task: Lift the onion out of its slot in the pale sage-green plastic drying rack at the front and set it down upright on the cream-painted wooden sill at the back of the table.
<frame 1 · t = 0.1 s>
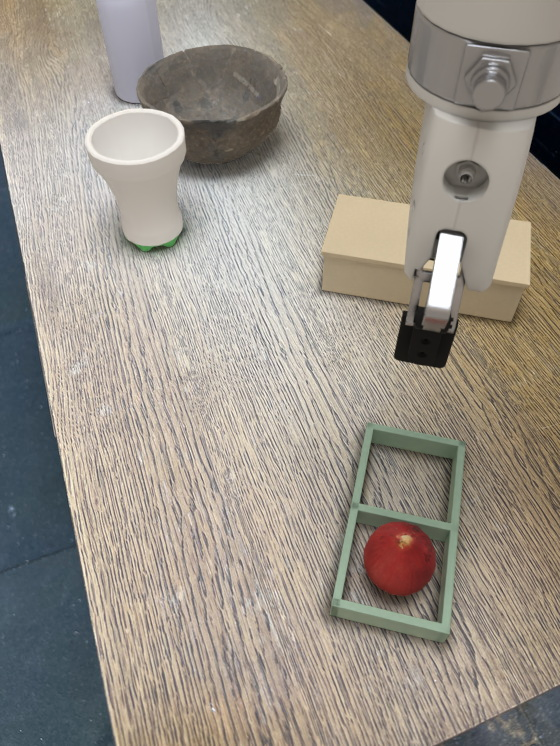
hand: (427, 306, 43), 23 cm above the table, tool pointing down, fingers open, 9 cm apart
windowsill: (419, 276, 78), on the table
soap bottle: (140, 91, 106), on the table
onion: (393, 575, 56), resting in drying rack
drying rack: (400, 528, 59), on the table
cup: (154, 234, 84), on the table
bowl: (217, 146, 96), on the table
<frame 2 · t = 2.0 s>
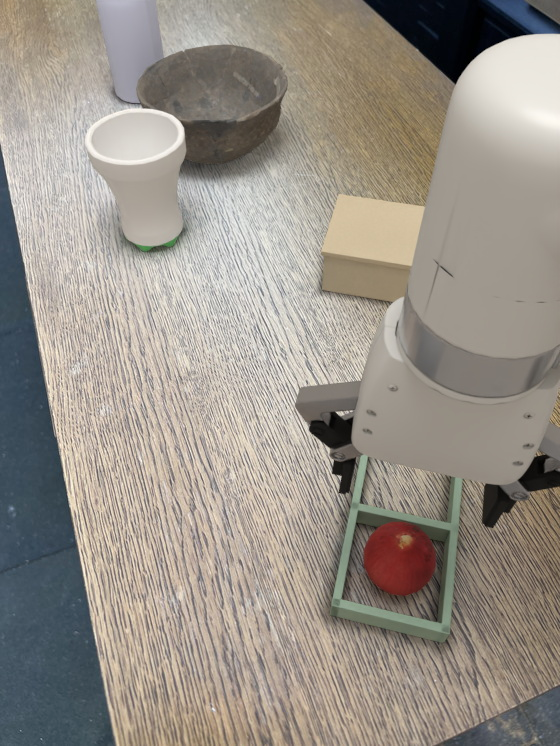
hand: (416, 491, 44), 15 cm above the table, tool pointing down, fingers open, 9 cm apart
nothing on the table moved.
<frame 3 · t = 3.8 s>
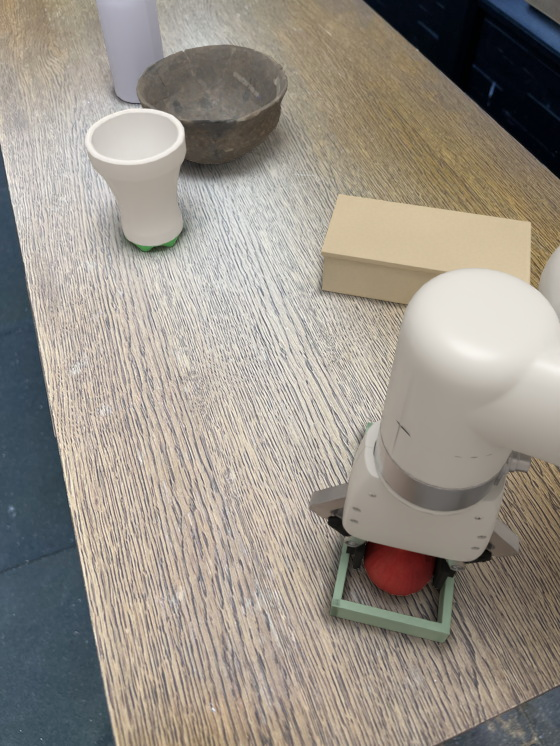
hand: (398, 561, 54), 3 cm above the table, tool pointing down, fingers closed on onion, 5 cm apart
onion: (393, 575, 56), resting in drying rack, touching gripper
everything else where it was.
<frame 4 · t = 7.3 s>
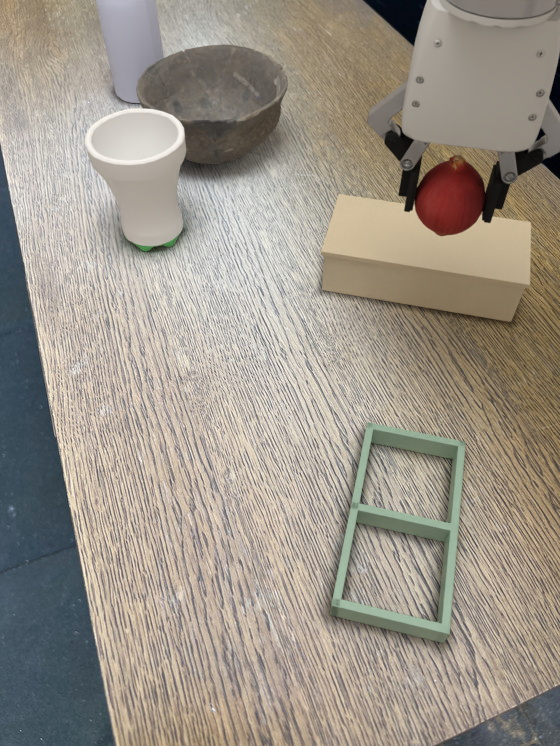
hand: (448, 205, 56), 20 cm above the table, tool pointing down, fingers closed on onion, 5 cm apart
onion: (441, 235, 58), point 16 cm above the table, touching gripper
everything else where it was.
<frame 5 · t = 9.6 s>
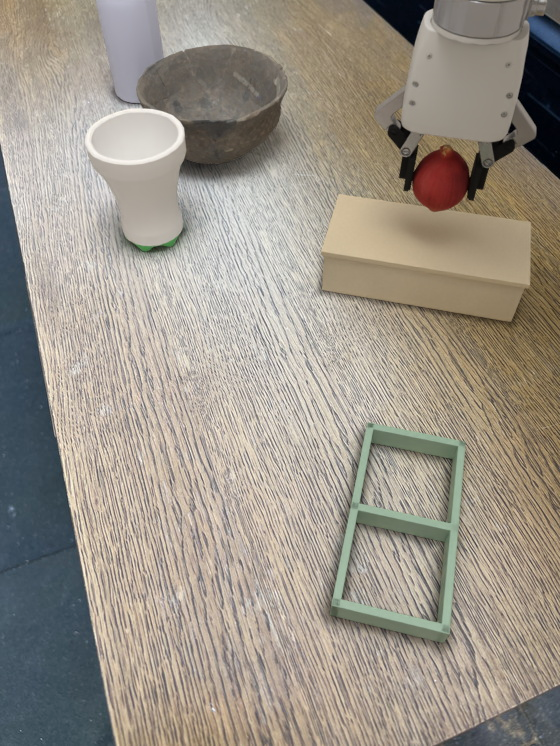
hand: (439, 186, 68), 13 cm above the table, tool pointing down, fingers closed on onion, 5 cm apart
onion: (434, 211, 71), point 10 cm above the table, touching gripper
everything else where it was.
when the fingers open (9 cm above the table, at t = 11.0 s): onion stays where it is, resting on windowsill.
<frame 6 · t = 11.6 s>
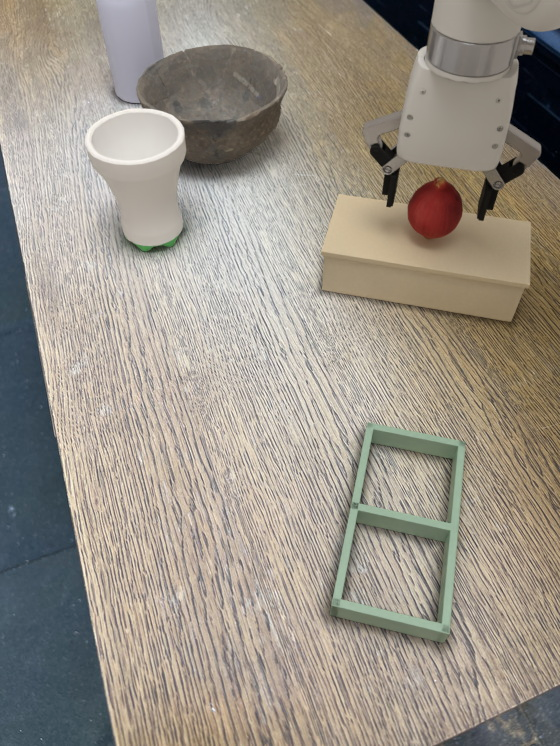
hand: (435, 206, 70), 11 cm above the table, tool pointing down, fingers open, 9 cm apart
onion: (428, 238, 74), point 6 cm above the table, touching windowsill
everything else where it was.
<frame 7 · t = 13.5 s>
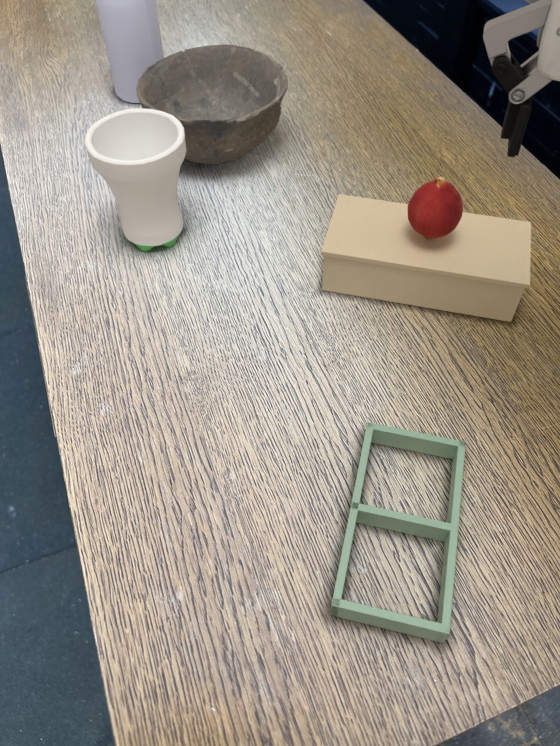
nothing on the table moved.
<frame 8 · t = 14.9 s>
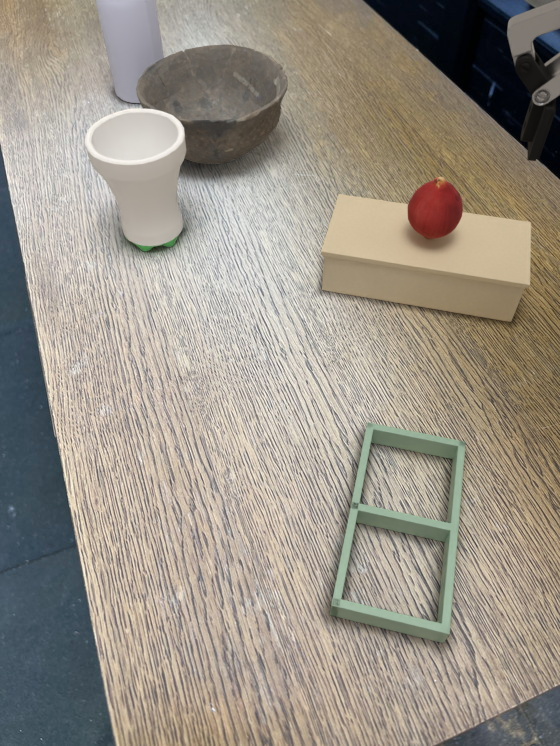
nothing on the table moved.
at the end: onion inside the target area on the windowsill (0.1 cm from its centre), point 6.1 cm above the windowsill's base; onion tilted 0°; the gripper is holding nothing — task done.
